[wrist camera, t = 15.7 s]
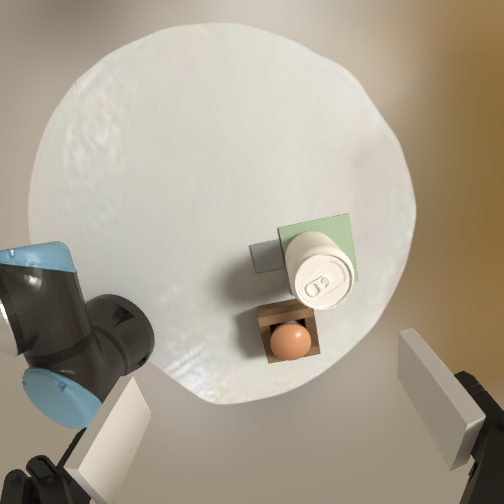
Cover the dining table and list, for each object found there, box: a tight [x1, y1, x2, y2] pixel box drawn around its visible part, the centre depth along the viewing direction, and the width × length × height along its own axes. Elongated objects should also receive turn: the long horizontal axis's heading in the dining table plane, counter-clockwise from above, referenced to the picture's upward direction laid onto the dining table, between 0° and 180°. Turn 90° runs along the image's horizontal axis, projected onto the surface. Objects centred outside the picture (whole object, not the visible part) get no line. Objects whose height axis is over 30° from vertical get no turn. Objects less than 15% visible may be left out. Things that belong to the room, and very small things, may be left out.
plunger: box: [270, 319, 311, 360], centre depth 47 cm, size 6×6×6 cm
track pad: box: [250, 239, 285, 273], centre depth 48 cm, size 4×4×1 cm
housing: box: [257, 299, 320, 364], centre depth 49 cm, size 8×8×4 cm
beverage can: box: [285, 231, 354, 310], centre depth 42 cm, size 8×8×12 cm
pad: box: [279, 214, 358, 295], centre depth 48 cm, size 11×11×1 cm
